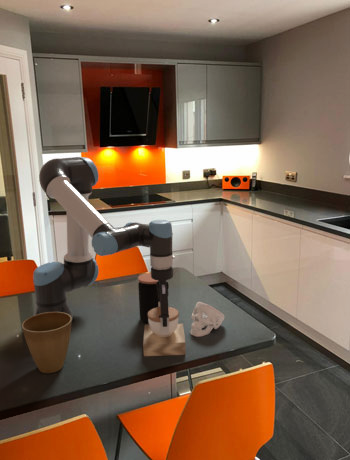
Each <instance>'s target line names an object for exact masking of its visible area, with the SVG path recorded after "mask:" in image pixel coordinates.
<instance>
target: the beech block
mask: <svg viewBox="0 0 350 460" xmlns="http://www.w3.org/2000/svg"><path fill="white" fill-rule="evenodd" d="M142 346H143V357H157V356H158V357H159V356H161V357H162V356H185V355H186V337H185V330H184V323H178V326H177V329H176V330H175V331H174V333H173V334H172V335H171V336H169V337H158V336H156V335H155V334H154V333H153V332H152V330H151V329H150V326H149V325H148V324H144V330H143V342H142Z"/></svg>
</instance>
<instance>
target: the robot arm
mask: <svg viewBox="0 0 350 460" xmlns="http://www.w3.org/2000/svg"><path fill="white" fill-rule="evenodd" d="M38 175H39V176H38V177H39V180H38V181H39V185H40V187H41V189H42V190H43V192H44V193H45V194H46V196H48V197H49V198H50V199H55V201H56V202H58V204H60V206H61V207H62V208H63V209H64V210H65V212H66V245H67V247H66V248H67V251H66V252H67V253H65V255H64V256H63V263H62V262H60V261H51V262H47V263H43V264H41V265H39V266H38V267H36V268H35V269H34V271H33V275H32V279H33V280H32V281H33V286H34V287H33V288H34V296H35V310H34V315H37V314H41V313H46V312H63V313H67V314H69V315H70V316H71V318H72V321H73V319H74V318H73V317H74V316H73V312H72V310H71V307H70V306H69V303H68V301H67V294H68V293H70V292H73V291H76V290H79V289H81V288H85V287H88V286H89V285H92V284H93V283H95V282H96V281H97V279H98V276H99V265H98V263H97V261H96V259H94V258H93V255H92V254H91V252H90V249H89V248H90V245H89V243H90V242H89V241H90V240H89V239H90V237H91V246H92V248H93V251H94V253H95V254H96V255H98V256H100V257H104V256H110V255H114V254H116V253H121V252H123V251H126V250H130V249H134V248H137V247H145V248H149V259H150V260H149V263H150V273H151V278H152V279H154V280H158V282H156V285H157V291H158V301H160V302H158V307H160V310H161V315H160V316H159V318H160V322H161V335H169V310H168V307H169V288H170V287H169V281H168V280H171V279H173V278H174V267H173V265H174V261H173V260H174V259H175V255H173V252H174V251H173V234H174V233H173V226H172V223H171V221H169V220H166V219H156V220H151V221H150V222H149V223H148V224H146V223H145V224H144V223H141V222H127V223H126V224H125V225H124V226H122V227H117V228H115V227H114V226H113V225H112V224H111V223H110V222H109V221H108V220H107V219H106V218H105V217H104V216H103V215H102V214H101V213H100V212H99V211H98V210H97V209H96V208H95V207H94V206H93V205H92V204H91V203H90V202H89V197H90V195H91V194H92V193H93V187H94V186H95V185H97V183H98V182H99V171H98V168H97V165H96V164H95V162H94V161H93V160H91V159H90V158H89V157H83V156H74V157H62V158H52V159H49V160H47V161H46V162H45V163H44V164H43V165H42V167H40V171H39V174H38ZM34 315H33V316H34Z"/></svg>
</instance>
